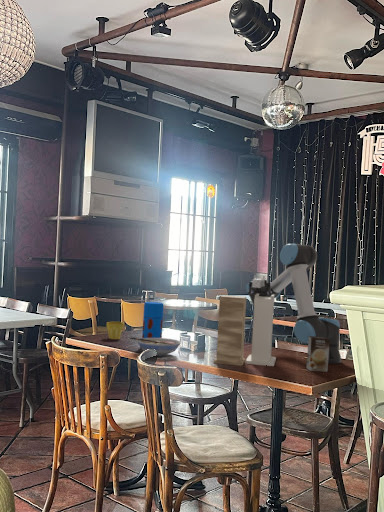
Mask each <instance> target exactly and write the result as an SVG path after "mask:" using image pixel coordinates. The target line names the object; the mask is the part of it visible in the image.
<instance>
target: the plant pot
mask: <svg viewBox="0 0 384 512" xmlns="http://www.w3.org/2000/svg"><path fill="white" fill-rule="evenodd" d="M124 326H125V323H124V322H121V321H107V322H106V329H107V334H108V338H109V339H110V340H120V339H121V338H122V337H121V336H122V333H123V330H124Z"/></svg>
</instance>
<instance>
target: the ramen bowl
mask: <svg viewBox="0 0 384 512" xmlns="http://www.w3.org/2000/svg"><path fill="white" fill-rule="evenodd" d="M130 340H136V341H137V343H138V345H139V347H140V348H141V350H142V351H144V352H146V351H145V350H147V349H155V350H156V352H157V356H156V357H164V356H166V355H169V354H171V353H173V352H175V351H176V350H177V349H178V348H179V347H180V344H181V340H177V339H175V338H174V339H173V338H165V337H162V338H142V337H141V338H138V337H130Z"/></svg>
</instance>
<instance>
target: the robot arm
mask: <svg viewBox="0 0 384 512" xmlns="http://www.w3.org/2000/svg"><path fill="white" fill-rule="evenodd" d="M317 259H318V254H317V251H316V249H315V248H314V247H313V246H312V245H309V244H299V243H286V244H285V245H284V246H283V247H282V248H281V251H280V253H279V260H280V262H281V264H282V265H285V267H286V269H285V270H284V271H282V272H281V273H280V274H279V275H278V276H277V277H276V278H275V279H273V281H271V282H268V281H267V279H266V278H265V277H266V276H265V275H263V276H262V279H263V287H261V288H255V287H252V282H253V279H257V275H255V274H254V276H253V279H251V281H249V282H248V283H246V285H245V289H246V293H247V294H248V296H249V298H250V300H251V303H252V305H253V306H254V301H255V295H256V294H257V293H258V294H259V296H261V297H271V295H274V299H278V298H279V297H280V296H281V292H282V291H283V290H284V289H285V288H286V287H287V286H288V285H289V284H291V283H292V288H293V293H294V298H295V303H296V308H297V313H298V315H297V317H296V322H295V324H294V327H293V332H294V335H295V338H296V339H297V340H298V341H300V342H301V343H304V344H305V343H306V344H308V340H309V336H314V337H326V338H329V339H330V342H329V356H328V364H330V365H331V364H332V365H333V364H335V365H336V364H338V365H339V364H341V363H342V357H341V352H340V349H339V346H340V345H339V343H340V329H341V327H340V325H341V324H340V321H339V320H338V319H334V318H333V319H332V318H326V317H321V316H320V317H319V314H317V313H316V312H315V307H314V302H313V296H312V292H311V287H310V282H309V276H308V272H307V271H309V270H310V269H311V268H313V267H314V265H315V264H316V262H317Z"/></svg>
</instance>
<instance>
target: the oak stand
mask: <svg viewBox="0 0 384 512" xmlns="http://www.w3.org/2000/svg"><path fill="white" fill-rule="evenodd" d="M246 308H247V296H242V295H241V296H239V295H237V296H236V295H226V294H225V295H224V294H223V295H221V296H219V307H218V322H217V323H218V324H217V341H216V357H215V358H214V360H213V364H216V365H227V366H238V367H239V366H240V367H242V366H244V363H246V358H245V357H244V347H245V346H244V345H245V331H246V330H245V328H246V326H245V325H246V312H247V311H246V310H247V309H246Z"/></svg>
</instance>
